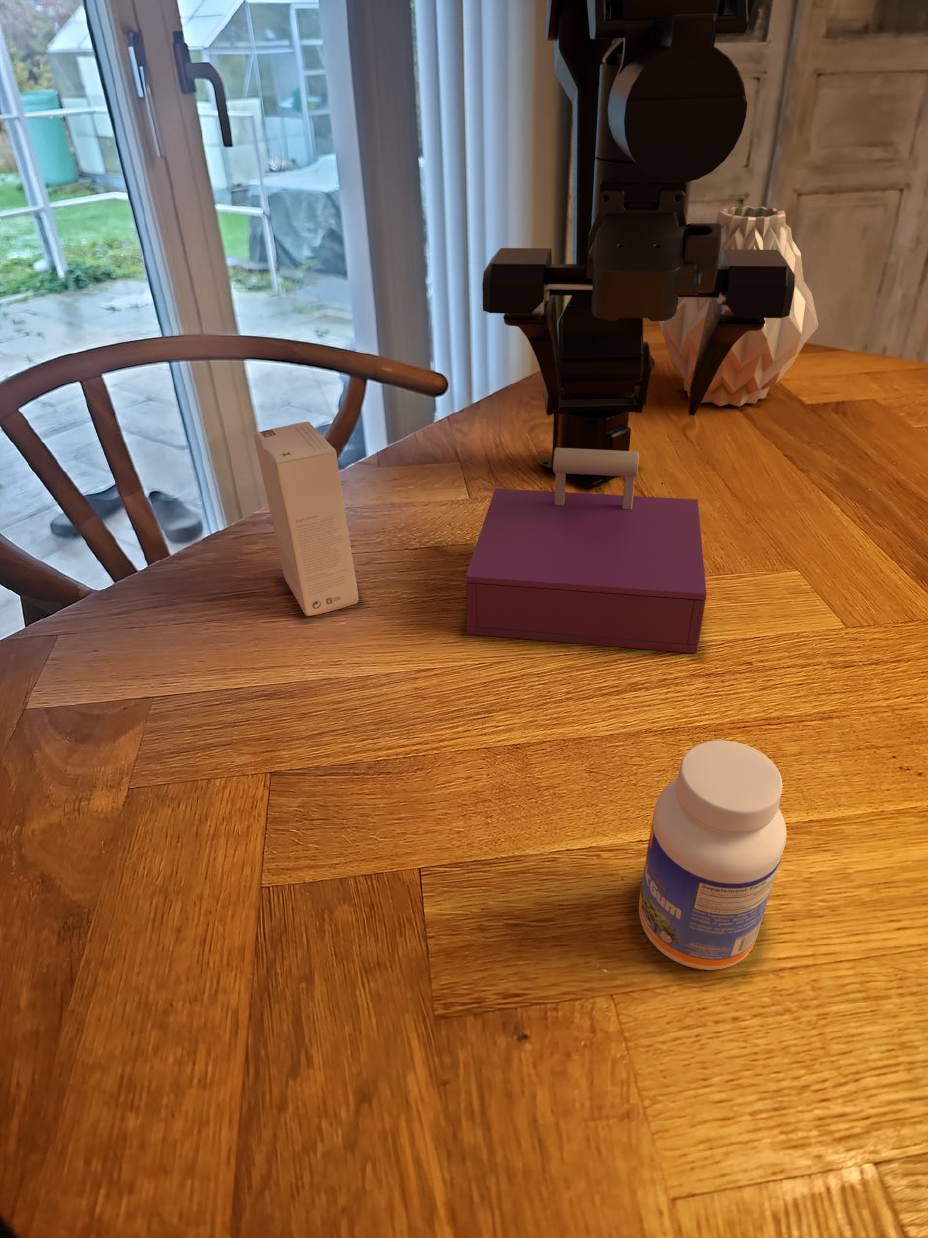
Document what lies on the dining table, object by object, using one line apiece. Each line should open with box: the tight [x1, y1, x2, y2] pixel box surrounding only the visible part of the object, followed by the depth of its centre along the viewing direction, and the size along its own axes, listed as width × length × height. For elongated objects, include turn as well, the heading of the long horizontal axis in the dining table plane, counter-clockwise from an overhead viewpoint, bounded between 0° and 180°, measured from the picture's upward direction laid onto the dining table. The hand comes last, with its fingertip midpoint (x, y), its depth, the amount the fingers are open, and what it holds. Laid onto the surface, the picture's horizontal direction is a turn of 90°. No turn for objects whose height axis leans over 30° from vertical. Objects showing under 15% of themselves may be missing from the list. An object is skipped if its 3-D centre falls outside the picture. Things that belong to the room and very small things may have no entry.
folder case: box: [465, 581, 706, 654], centre depth 61 cm, size 12×15×4 cm
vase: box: [657, 205, 819, 407], centre depth 88 cm, size 16×16×18 cm
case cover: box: [465, 448, 708, 601], centre depth 58 cm, size 13×15×5 cm
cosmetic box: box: [253, 421, 359, 617], centre depth 60 cm, size 6×4×12 cm
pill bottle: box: [638, 739, 788, 971], centre depth 37 cm, size 5×5×10 cm
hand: (623, 411), depth 59 cm, fingers open, 9 cm apart
